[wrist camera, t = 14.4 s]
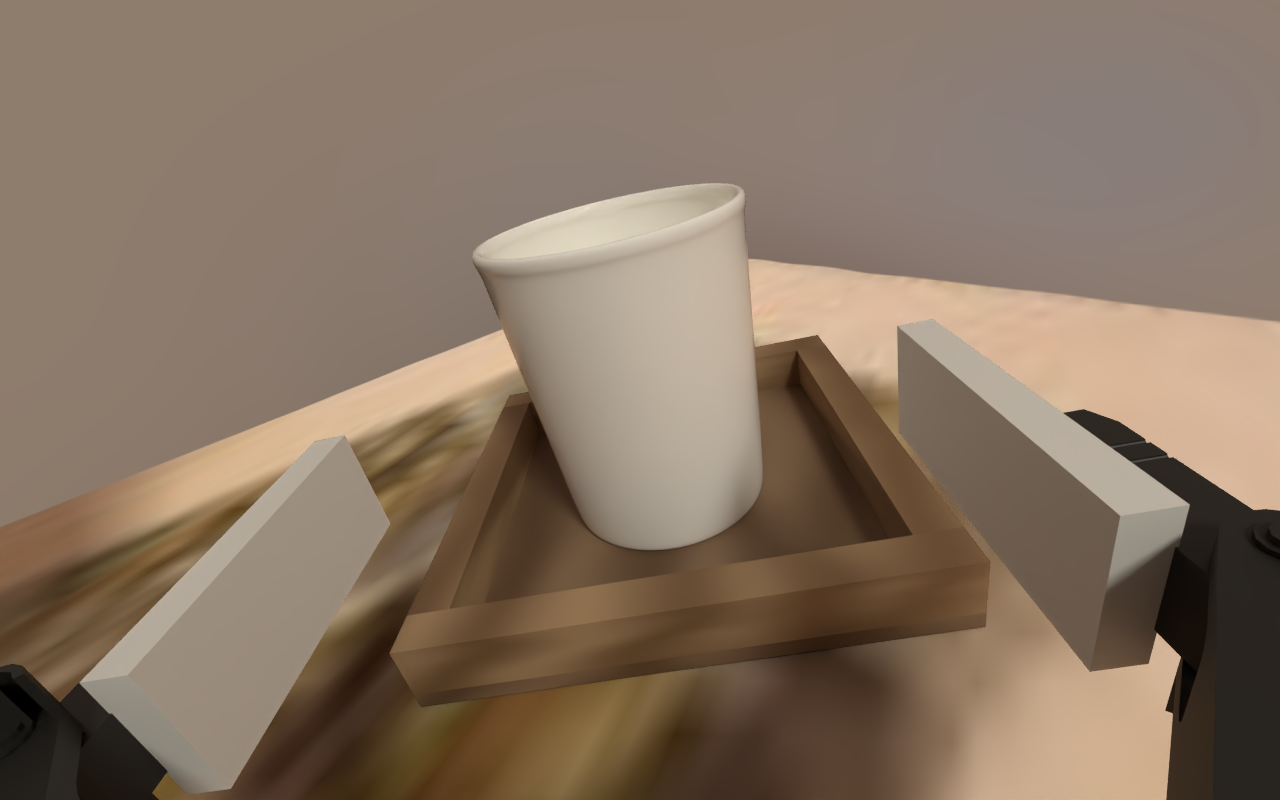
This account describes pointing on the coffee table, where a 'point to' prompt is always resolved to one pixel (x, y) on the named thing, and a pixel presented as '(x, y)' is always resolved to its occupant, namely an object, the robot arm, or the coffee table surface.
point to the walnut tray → (693, 557)
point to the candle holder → (639, 357)
